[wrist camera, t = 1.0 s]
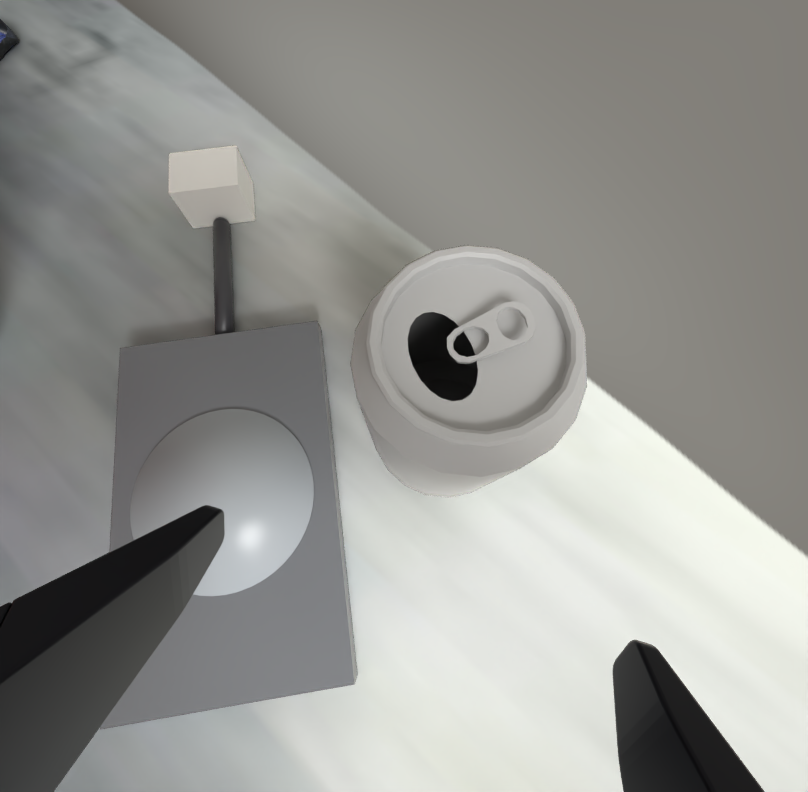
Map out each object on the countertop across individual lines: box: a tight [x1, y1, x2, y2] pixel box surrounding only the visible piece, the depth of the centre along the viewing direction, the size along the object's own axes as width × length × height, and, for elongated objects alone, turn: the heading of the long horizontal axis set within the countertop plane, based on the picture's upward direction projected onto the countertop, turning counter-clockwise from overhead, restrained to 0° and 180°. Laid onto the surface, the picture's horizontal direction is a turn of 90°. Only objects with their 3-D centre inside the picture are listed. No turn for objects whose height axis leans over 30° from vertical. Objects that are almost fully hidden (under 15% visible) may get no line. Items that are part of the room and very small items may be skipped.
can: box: [350, 245, 587, 497], centre depth 17 cm, size 8×8×12 cm
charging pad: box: [100, 145, 357, 729], centre depth 22 cm, size 30×11×3 cm, turn 9°
